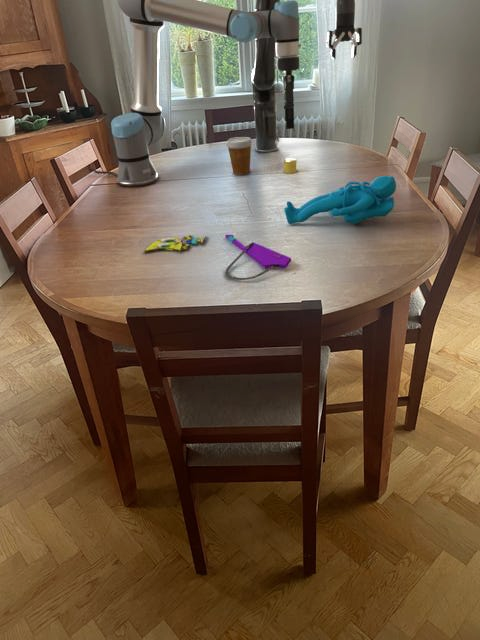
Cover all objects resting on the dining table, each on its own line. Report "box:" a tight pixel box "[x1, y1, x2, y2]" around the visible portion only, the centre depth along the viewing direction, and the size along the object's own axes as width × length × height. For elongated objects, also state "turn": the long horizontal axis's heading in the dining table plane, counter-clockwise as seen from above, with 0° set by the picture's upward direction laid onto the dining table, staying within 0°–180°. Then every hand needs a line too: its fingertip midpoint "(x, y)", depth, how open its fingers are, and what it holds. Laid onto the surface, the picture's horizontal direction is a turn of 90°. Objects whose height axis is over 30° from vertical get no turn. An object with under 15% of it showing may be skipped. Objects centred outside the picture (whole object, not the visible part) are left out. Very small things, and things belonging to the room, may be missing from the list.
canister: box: [283, 157, 298, 174], centre depth 178 cm, size 5×5×4 cm
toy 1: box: [144, 234, 207, 254], centre depth 130 cm, size 10×1×15 cm
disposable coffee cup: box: [226, 136, 253, 176], centre depth 180 cm, size 10×10×12 cm
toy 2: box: [283, 175, 397, 225], centre depth 132 cm, size 17×11×30 cm
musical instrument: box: [224, 234, 292, 281], centre depth 118 cm, size 24×2×20 cm
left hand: (289, 124), depth 170 cm, fingers open, 13 cm apart
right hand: (343, 58), depth 199 cm, fingers open, 8 cm apart
